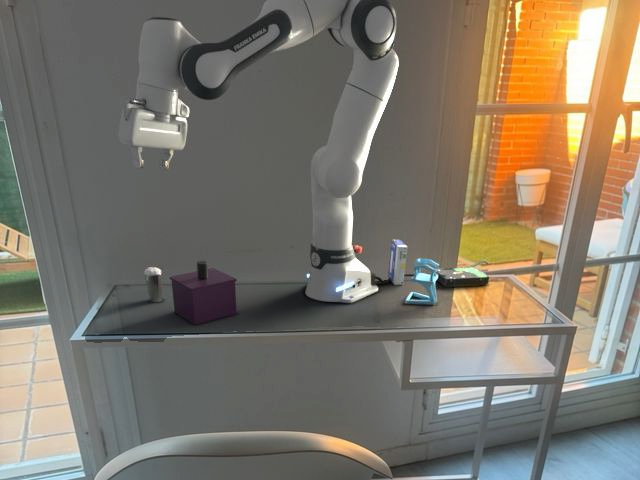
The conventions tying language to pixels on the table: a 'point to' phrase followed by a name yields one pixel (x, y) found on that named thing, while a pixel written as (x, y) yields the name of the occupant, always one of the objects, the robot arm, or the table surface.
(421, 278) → the chair
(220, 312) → the box
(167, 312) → the table surface
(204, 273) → the lid
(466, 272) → the disk drive
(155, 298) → the milkshake
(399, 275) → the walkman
